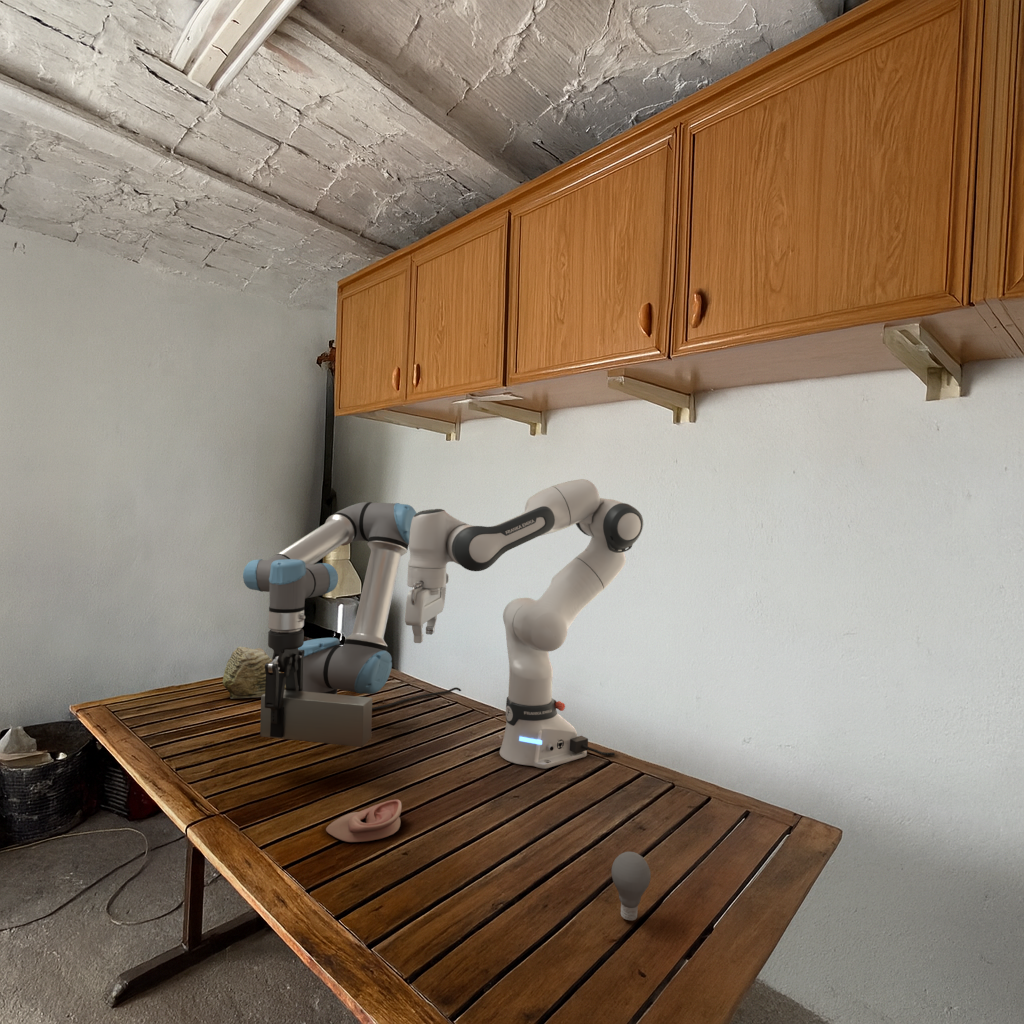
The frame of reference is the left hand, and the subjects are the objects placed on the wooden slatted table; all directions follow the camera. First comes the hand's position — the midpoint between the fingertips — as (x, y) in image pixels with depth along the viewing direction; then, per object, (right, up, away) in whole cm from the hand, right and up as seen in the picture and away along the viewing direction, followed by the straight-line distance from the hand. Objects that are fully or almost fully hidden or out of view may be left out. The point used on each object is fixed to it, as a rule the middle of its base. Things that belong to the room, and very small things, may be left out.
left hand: (283, 731), depth 142 cm
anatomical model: (+23, -12, -20) cm, 33 cm away
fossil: (-29, -8, +56) cm, 63 cm away
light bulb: (+70, -14, -44) cm, 83 cm away
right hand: (+31, +20, +5) cm, 37 cm away
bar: (+8, -1, -1) cm, 8 cm away
